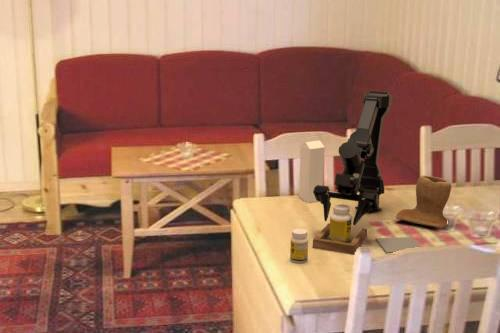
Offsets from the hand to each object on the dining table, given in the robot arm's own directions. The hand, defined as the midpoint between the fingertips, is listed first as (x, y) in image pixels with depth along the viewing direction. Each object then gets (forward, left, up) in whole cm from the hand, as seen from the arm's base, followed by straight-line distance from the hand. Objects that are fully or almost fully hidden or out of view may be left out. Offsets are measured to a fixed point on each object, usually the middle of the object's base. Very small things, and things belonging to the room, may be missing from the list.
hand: (339, 222), depth 213 cm
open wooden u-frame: (-1, -1, -7) cm, 7 cm away
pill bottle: (-1, -1, -7) cm, 7 cm away
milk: (-20, -37, -7) cm, 43 cm away
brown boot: (-35, +1, -7) cm, 36 cm away
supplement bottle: (+17, +3, -7) cm, 18 cm away
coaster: (-14, +11, -7) cm, 19 cm away
